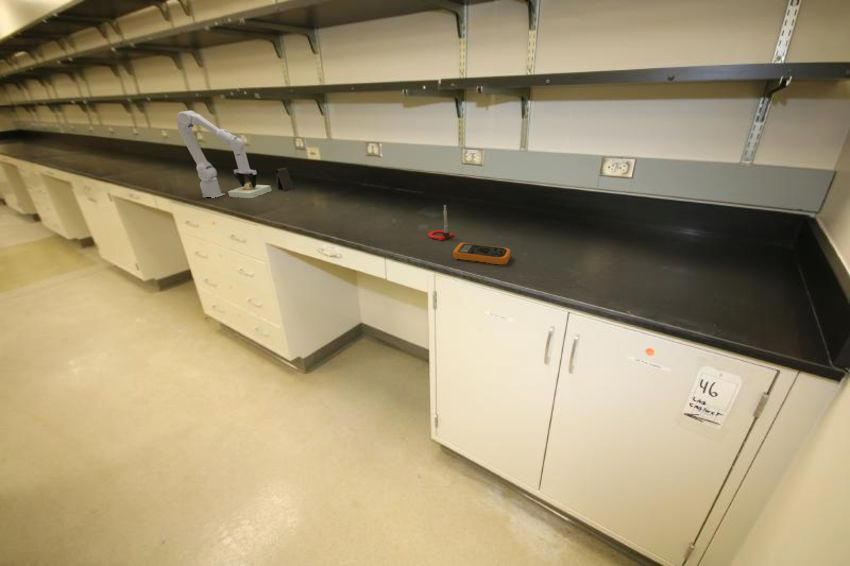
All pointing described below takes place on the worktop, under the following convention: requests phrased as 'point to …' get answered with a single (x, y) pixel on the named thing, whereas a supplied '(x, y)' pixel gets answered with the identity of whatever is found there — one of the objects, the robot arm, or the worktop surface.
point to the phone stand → (283, 180)
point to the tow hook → (445, 231)
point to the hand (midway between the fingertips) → (249, 186)
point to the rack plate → (250, 191)
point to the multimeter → (482, 253)
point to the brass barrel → (248, 186)
